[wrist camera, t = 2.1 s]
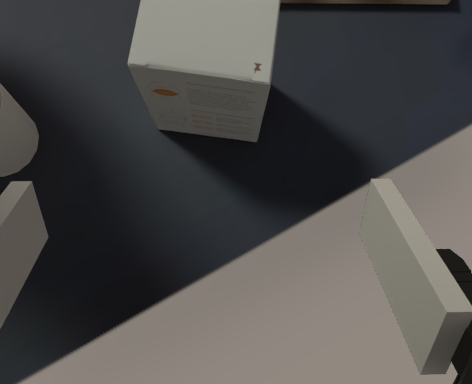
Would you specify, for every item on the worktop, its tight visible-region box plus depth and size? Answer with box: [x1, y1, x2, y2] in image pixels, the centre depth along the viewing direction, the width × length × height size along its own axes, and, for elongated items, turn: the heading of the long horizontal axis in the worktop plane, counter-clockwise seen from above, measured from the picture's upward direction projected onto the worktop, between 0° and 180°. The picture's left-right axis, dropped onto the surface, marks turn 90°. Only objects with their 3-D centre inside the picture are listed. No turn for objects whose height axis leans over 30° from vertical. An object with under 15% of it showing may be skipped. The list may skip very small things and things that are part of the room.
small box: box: [128, 0, 281, 142], centre depth 28 cm, size 8×6×10 cm
